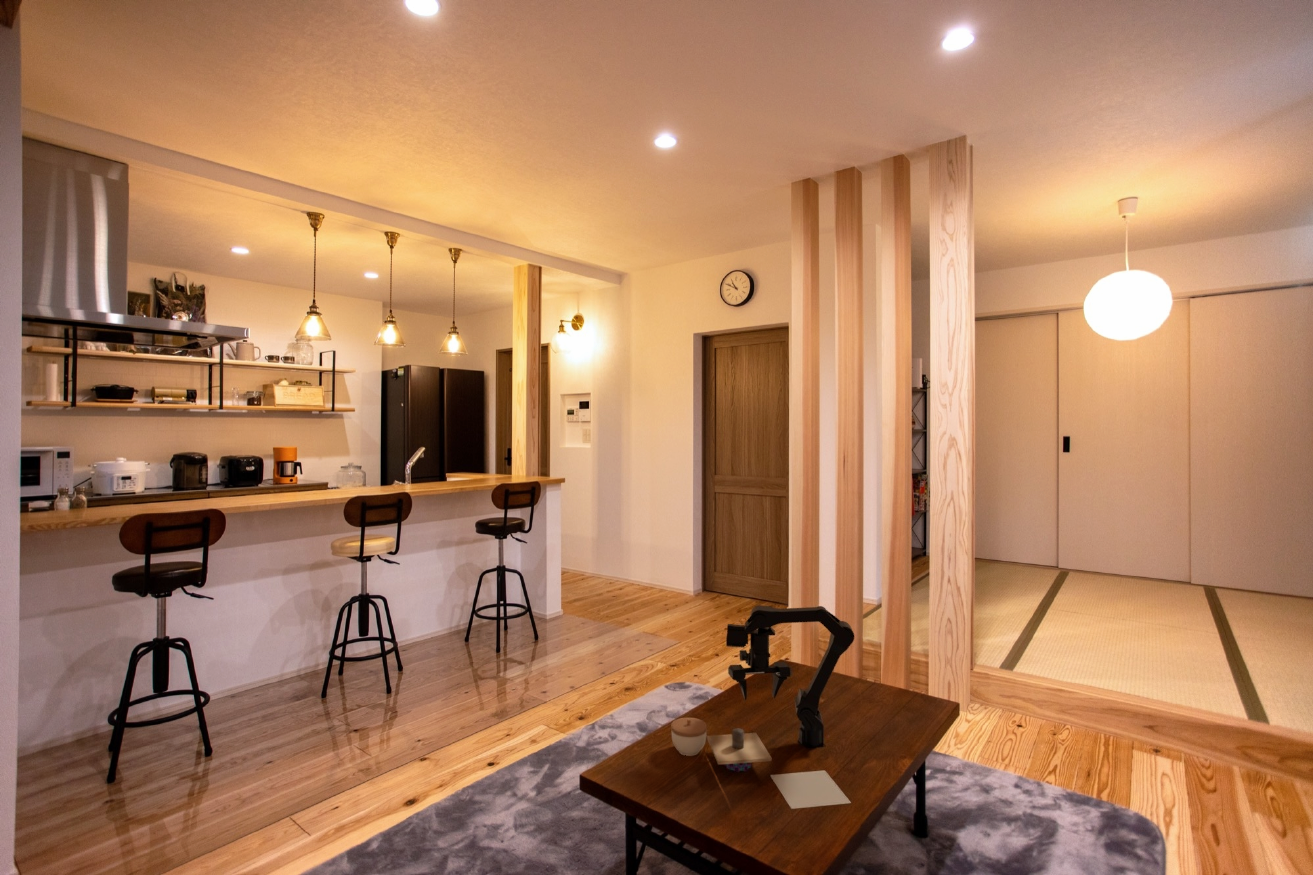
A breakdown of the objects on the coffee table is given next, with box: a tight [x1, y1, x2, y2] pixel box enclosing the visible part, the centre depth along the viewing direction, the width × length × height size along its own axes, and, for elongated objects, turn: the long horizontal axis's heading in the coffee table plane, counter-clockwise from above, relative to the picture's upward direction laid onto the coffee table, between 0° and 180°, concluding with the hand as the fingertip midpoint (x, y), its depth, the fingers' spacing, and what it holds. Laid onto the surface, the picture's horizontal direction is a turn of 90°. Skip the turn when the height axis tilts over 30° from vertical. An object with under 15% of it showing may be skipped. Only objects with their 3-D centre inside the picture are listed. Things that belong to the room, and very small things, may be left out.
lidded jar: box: [670, 717, 708, 757], centre depth 191 cm, size 11×11×9 cm
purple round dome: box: [723, 762, 752, 773], centre depth 182 cm, size 12×12×5 cm
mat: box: [770, 770, 852, 810], centre depth 169 cm, size 16×16×1 cm
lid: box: [706, 727, 773, 765], centre depth 182 cm, size 15×15×5 cm
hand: (759, 698), depth 197 cm, fingers open, 9 cm apart
